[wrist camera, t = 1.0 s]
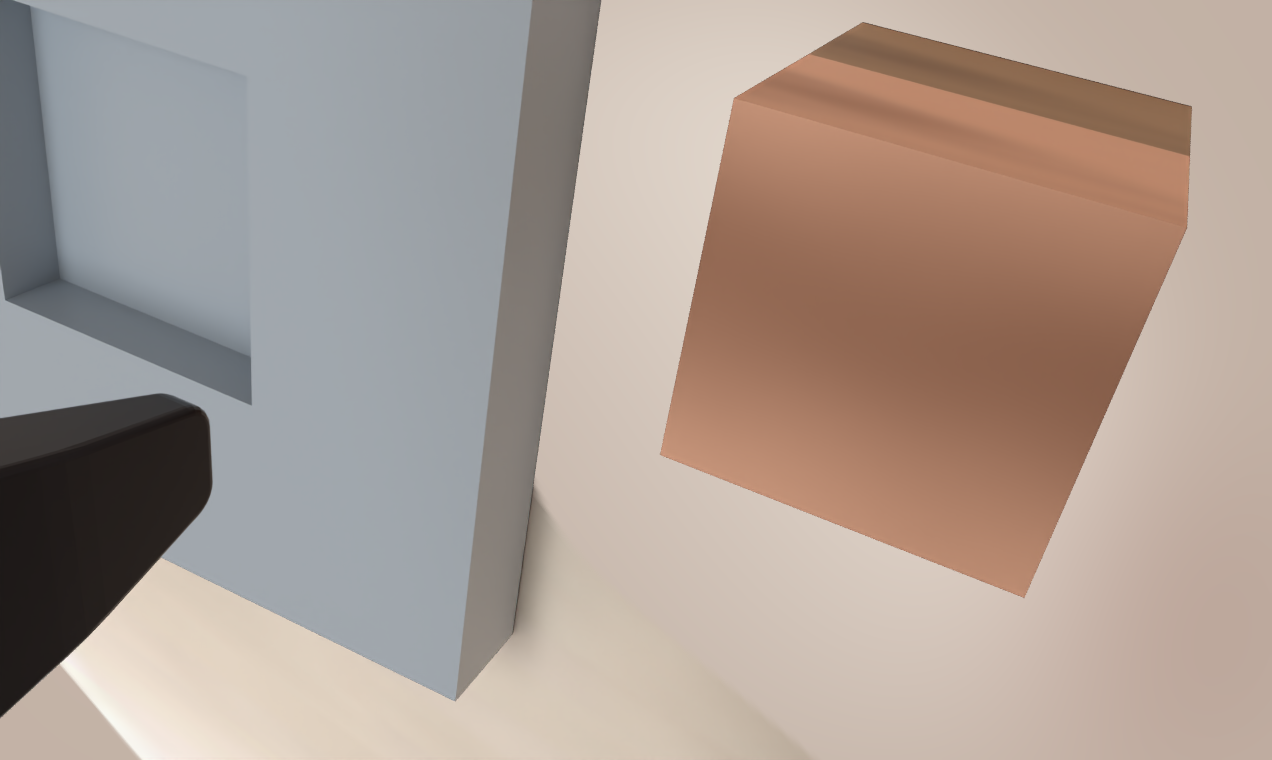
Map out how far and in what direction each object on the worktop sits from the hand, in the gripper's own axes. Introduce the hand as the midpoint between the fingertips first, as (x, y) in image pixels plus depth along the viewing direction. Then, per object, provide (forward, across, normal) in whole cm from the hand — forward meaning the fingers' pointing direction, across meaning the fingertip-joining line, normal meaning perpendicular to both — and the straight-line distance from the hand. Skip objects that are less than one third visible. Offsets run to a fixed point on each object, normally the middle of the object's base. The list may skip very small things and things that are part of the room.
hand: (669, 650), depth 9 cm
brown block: (+12, 0, 0) cm, 12 cm away
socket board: (+12, +16, +4) cm, 20 cm away
